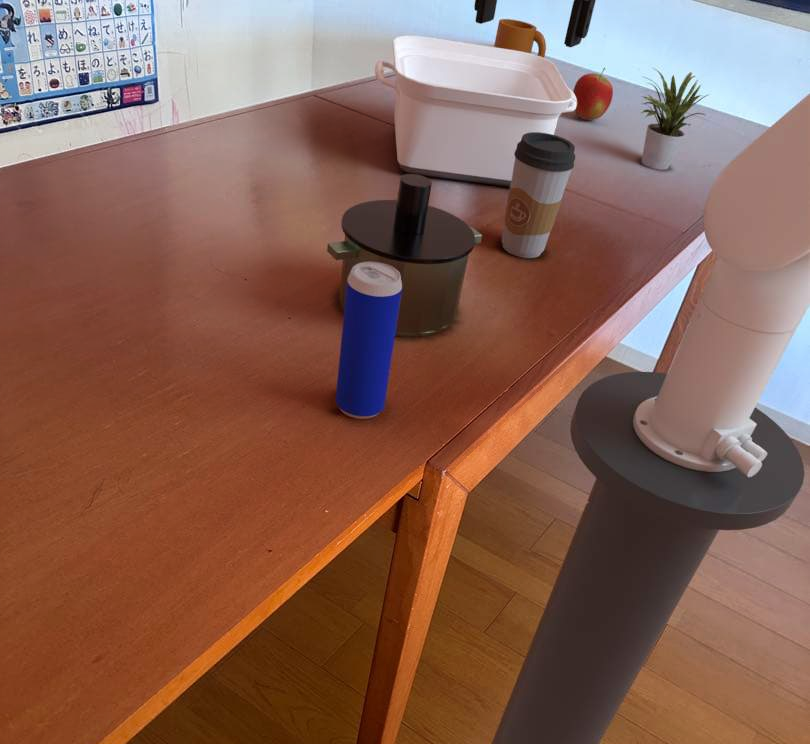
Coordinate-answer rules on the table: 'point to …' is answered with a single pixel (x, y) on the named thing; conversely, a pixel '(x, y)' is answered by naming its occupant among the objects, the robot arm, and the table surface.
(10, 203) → the table surface
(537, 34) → the mug
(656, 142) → the house plant
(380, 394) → the beverage can
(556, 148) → the coffee cup
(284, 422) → the table surface
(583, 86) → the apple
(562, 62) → the table surface
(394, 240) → the lid
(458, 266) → the cooker pot
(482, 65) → the white storage tub
